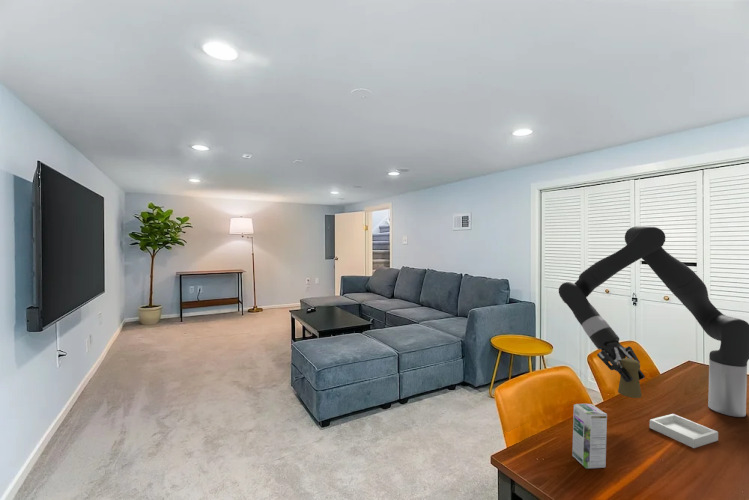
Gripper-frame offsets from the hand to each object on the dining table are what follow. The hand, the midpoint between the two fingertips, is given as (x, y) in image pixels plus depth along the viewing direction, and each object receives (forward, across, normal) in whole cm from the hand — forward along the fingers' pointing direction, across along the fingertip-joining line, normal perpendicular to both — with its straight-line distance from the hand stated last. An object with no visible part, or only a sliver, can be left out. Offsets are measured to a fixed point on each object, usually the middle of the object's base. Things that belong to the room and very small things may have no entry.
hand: (635, 379), depth 107 cm
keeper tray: (+16, +12, +7) cm, 21 cm away
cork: (+2, 0, +5) cm, 6 cm away
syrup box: (+16, -28, +7) cm, 33 cm away
